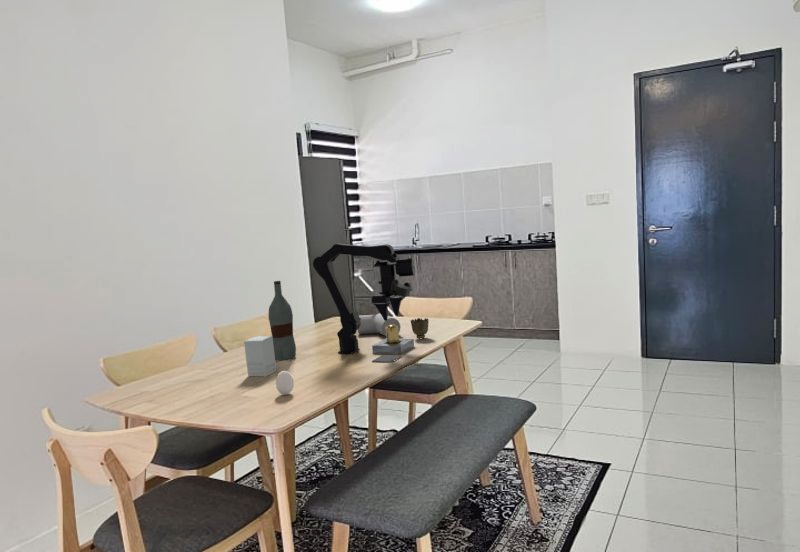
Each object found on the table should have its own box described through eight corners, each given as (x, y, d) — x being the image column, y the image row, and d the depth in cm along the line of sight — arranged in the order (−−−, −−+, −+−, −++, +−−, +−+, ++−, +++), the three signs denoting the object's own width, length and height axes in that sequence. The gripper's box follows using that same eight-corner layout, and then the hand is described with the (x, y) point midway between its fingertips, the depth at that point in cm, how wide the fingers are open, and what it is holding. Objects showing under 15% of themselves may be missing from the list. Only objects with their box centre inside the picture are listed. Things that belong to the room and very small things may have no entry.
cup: (433, 336, 238) (431, 317, 237) (424, 340, 232) (422, 321, 231) (417, 336, 242) (416, 317, 241) (408, 339, 236) (407, 320, 235)
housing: (372, 353, 218) (372, 345, 217) (386, 345, 228) (386, 338, 228) (401, 354, 213) (400, 346, 212) (414, 346, 223) (413, 338, 223)
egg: (279, 398, 170) (276, 374, 169) (275, 394, 174) (273, 370, 174) (296, 395, 172) (294, 371, 171) (292, 390, 177) (290, 367, 176)
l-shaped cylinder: (405, 326, 260) (362, 328, 263) (403, 304, 257) (359, 307, 260) (400, 343, 243) (354, 345, 247) (397, 320, 240) (351, 323, 243)
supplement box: (277, 370, 203) (273, 335, 201) (265, 376, 196) (261, 340, 194) (259, 370, 205) (255, 335, 204) (247, 376, 198) (243, 340, 197)
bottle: (278, 355, 226) (271, 280, 223) (300, 355, 224) (293, 279, 221) (268, 361, 217) (260, 283, 214) (291, 361, 215) (283, 282, 212)
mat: (372, 361, 204) (371, 360, 204) (382, 356, 212) (381, 355, 211) (392, 362, 201) (392, 361, 201) (401, 357, 208) (401, 355, 208)
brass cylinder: (385, 351, 219) (383, 326, 218) (390, 348, 224) (388, 324, 223) (396, 351, 217) (394, 326, 216) (401, 348, 222) (400, 324, 221)
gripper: (395, 280, 205) (399, 323, 207) (417, 273, 222) (420, 313, 223) (368, 281, 210) (372, 323, 212) (391, 274, 227) (395, 313, 228)
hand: (391, 318), depth 219 cm, fingers open, 9 cm apart
